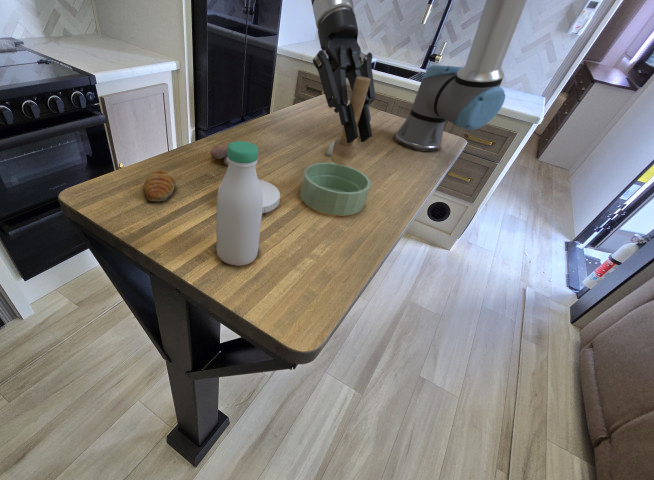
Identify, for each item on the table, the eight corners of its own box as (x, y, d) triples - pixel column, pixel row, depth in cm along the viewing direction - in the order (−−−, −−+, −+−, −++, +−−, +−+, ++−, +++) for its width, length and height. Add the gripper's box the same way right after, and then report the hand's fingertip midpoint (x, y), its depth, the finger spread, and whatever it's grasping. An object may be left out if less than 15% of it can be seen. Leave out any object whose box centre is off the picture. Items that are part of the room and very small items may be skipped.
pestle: (336, 154, 76) (356, 73, 65) (355, 161, 75) (379, 79, 64) (326, 160, 73) (346, 76, 62) (346, 167, 72) (370, 83, 61)
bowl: (318, 179, 88) (323, 157, 84) (372, 200, 83) (380, 177, 79) (287, 200, 79) (291, 176, 75) (346, 225, 73) (354, 201, 69)
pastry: (172, 205, 72) (170, 188, 70) (140, 203, 71) (137, 187, 69) (176, 184, 79) (175, 169, 76) (147, 183, 78) (145, 167, 75)
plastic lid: (283, 193, 81) (284, 183, 79) (272, 223, 71) (274, 213, 69) (228, 182, 82) (228, 173, 80) (210, 211, 72) (210, 200, 70)
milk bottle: (265, 258, 62) (279, 152, 48) (230, 272, 59) (234, 160, 45) (243, 237, 66) (250, 133, 52) (209, 248, 63) (206, 139, 49)
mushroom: (244, 167, 89) (241, 148, 93) (235, 149, 84) (232, 130, 88) (219, 177, 91) (217, 158, 95) (208, 160, 86) (207, 141, 90)
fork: (349, 144, 116) (351, 135, 114) (333, 156, 100) (336, 147, 99) (341, 142, 117) (343, 133, 115) (324, 154, 101) (327, 145, 99)
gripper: (355, 38, 72) (377, 145, 74) (292, 34, 67) (317, 150, 68) (379, 10, 65) (402, 128, 67) (311, 2, 60) (338, 133, 61)
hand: (359, 139), depth 67 cm, fingers closed on pestle, 3 cm apart
